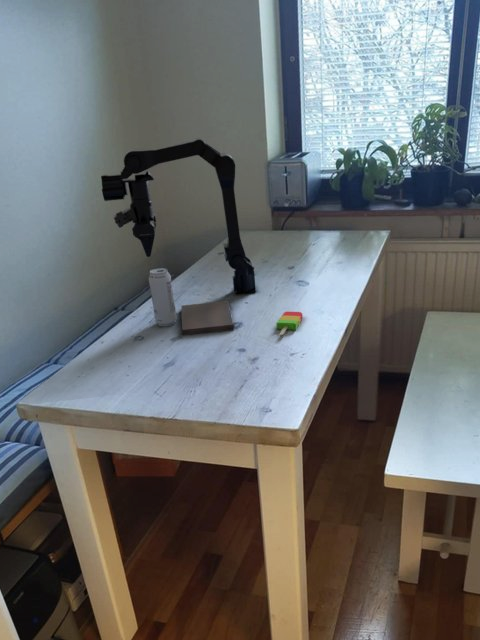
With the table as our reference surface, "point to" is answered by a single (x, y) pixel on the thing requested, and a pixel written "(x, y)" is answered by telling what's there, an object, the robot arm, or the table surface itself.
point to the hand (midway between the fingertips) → (149, 252)
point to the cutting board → (206, 318)
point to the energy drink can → (162, 297)
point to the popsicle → (289, 321)
